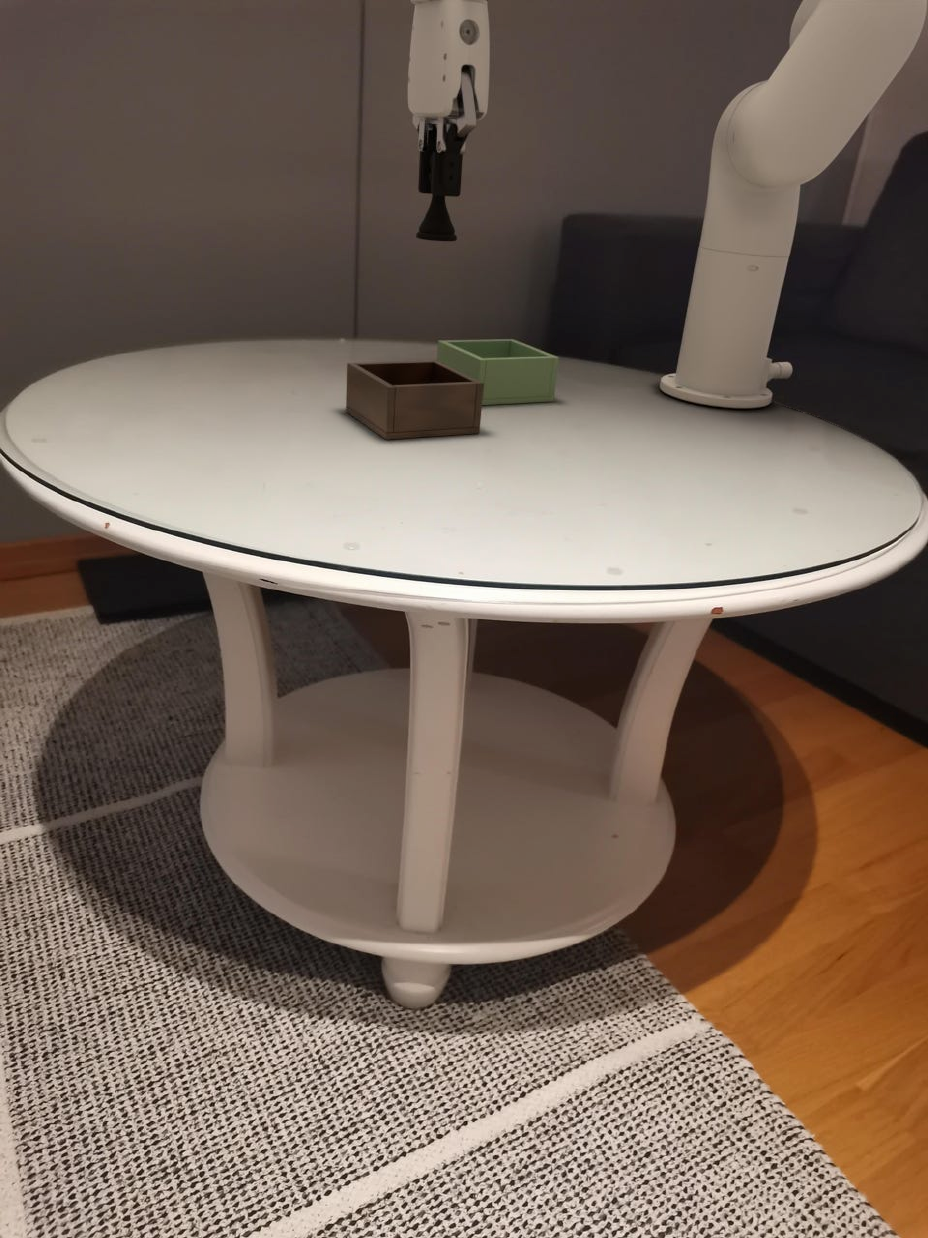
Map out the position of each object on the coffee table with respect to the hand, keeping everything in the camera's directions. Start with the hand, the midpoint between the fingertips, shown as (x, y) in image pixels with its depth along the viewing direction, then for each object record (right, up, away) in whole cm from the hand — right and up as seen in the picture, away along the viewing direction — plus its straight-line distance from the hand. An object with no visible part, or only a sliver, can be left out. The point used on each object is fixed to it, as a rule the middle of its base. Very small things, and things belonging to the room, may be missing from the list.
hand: (439, 192), depth 100 cm
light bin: (+6, -21, +1) cm, 22 cm away
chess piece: (0, -4, +2) cm, 5 cm away
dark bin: (-2, -27, -12) cm, 29 cm away
